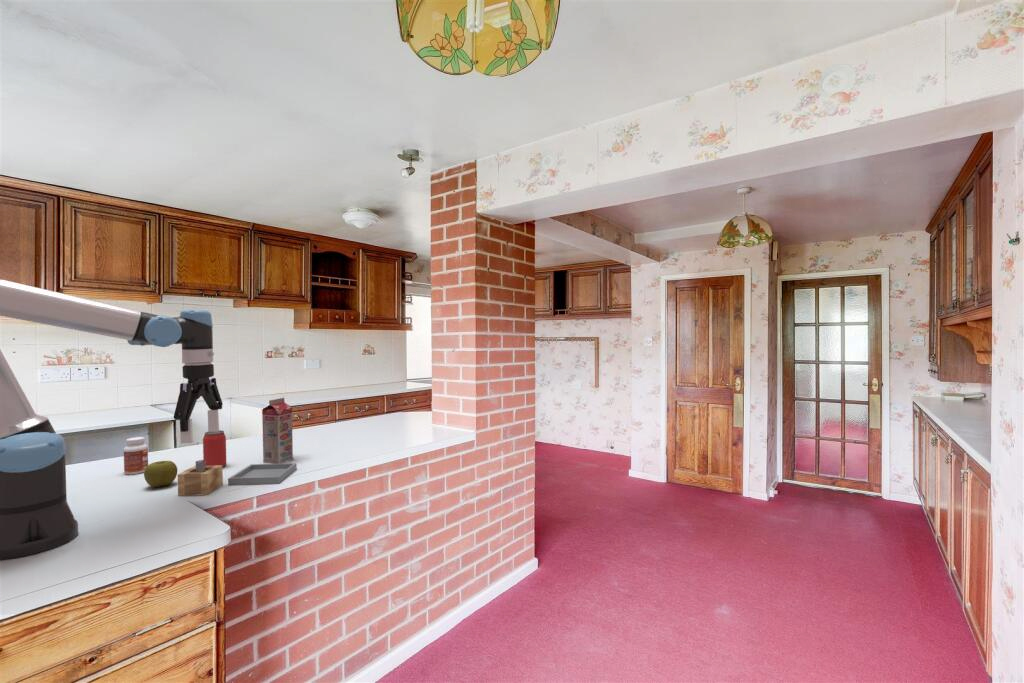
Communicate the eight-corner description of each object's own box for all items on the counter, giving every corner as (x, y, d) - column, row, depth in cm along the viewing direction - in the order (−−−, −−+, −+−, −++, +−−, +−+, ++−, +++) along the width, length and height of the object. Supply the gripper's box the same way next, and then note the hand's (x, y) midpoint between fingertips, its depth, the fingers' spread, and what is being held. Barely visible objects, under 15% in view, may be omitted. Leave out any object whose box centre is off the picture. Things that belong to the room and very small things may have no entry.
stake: (203, 491, 135) (202, 462, 135) (194, 491, 135) (193, 462, 135) (207, 488, 138) (207, 459, 138) (199, 488, 138) (198, 460, 137)
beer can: (199, 468, 157) (198, 433, 157) (219, 463, 163) (218, 429, 163) (210, 471, 154) (209, 435, 154) (230, 466, 160) (229, 431, 160)
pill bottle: (147, 472, 153) (146, 439, 152) (123, 476, 149) (122, 441, 149) (149, 468, 158) (148, 435, 158) (125, 471, 155) (124, 437, 154)
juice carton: (263, 462, 164) (262, 400, 163) (277, 457, 170) (276, 397, 170) (278, 464, 162) (277, 400, 161) (292, 459, 168) (291, 398, 168)
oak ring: (207, 494, 133) (207, 473, 133) (178, 495, 132) (177, 474, 132) (222, 485, 141) (222, 465, 141) (194, 485, 140) (194, 466, 140)
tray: (278, 483, 142) (278, 477, 142) (228, 485, 141) (228, 478, 141) (296, 469, 157) (296, 463, 156) (250, 470, 155) (250, 464, 155)
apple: (143, 485, 141) (143, 462, 140) (176, 479, 146) (176, 457, 146) (145, 492, 135) (144, 467, 135) (179, 486, 140) (178, 462, 140)
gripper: (185, 367, 123) (188, 447, 124) (233, 360, 148) (235, 426, 149) (155, 368, 123) (158, 448, 123) (208, 360, 147) (211, 427, 148)
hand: (200, 436), depth 136 cm, fingers open, 13 cm apart
